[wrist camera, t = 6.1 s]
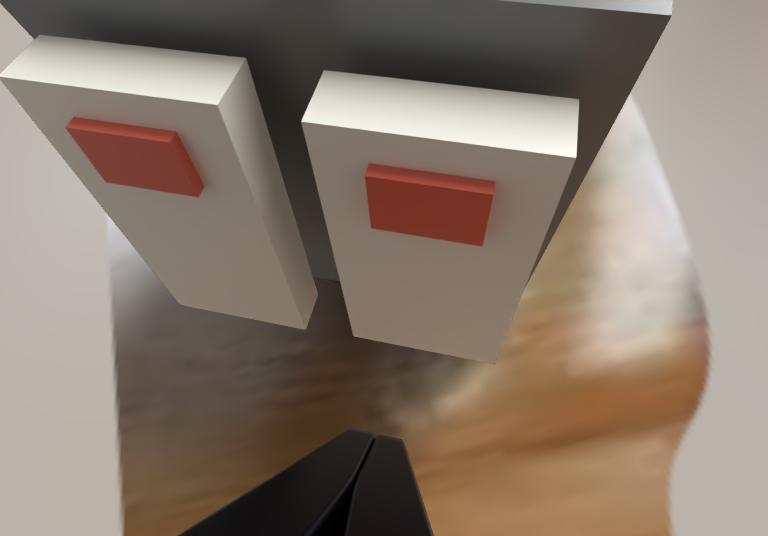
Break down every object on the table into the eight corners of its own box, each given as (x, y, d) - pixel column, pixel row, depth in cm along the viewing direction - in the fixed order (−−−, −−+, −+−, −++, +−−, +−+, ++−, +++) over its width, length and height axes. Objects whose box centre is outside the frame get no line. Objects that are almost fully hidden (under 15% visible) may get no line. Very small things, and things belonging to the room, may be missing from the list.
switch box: (511, 313, 20) (672, 15, 6) (246, 265, 21) (-47, -47, 8) (526, 200, 21) (679, -218, 8) (280, 163, 23) (80, -230, 10)
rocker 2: (493, 373, 14) (575, 172, 7) (350, 344, 14) (295, 133, 7) (499, 324, 14) (579, 98, 8) (363, 299, 15) (324, 69, 8)
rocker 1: (302, 338, 14) (210, 116, 8) (175, 312, 15) (-13, 86, 8) (318, 294, 15) (246, 58, 8) (196, 271, 16) (39, 34, 9)
